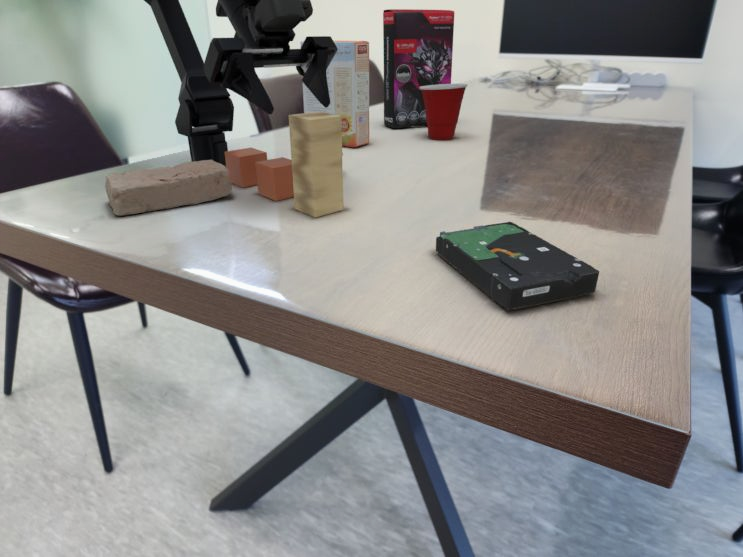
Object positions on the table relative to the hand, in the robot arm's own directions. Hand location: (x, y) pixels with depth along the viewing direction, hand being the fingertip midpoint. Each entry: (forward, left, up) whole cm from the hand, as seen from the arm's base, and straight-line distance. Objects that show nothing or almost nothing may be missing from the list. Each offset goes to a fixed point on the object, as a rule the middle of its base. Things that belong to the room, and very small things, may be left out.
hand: (301, 108), depth 68 cm
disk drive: (+32, -8, -14) cm, 36 cm away
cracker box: (-20, +40, -14) cm, 46 cm away
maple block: (+3, -1, -13) cm, 14 cm away
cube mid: (-6, +2, -13) cm, 15 cm away
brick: (-19, -8, -14) cm, 25 cm away
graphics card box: (-14, +69, -14) cm, 71 cm away
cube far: (-16, +5, -13) cm, 21 cm away
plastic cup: (-2, +57, -14) cm, 58 cm away
